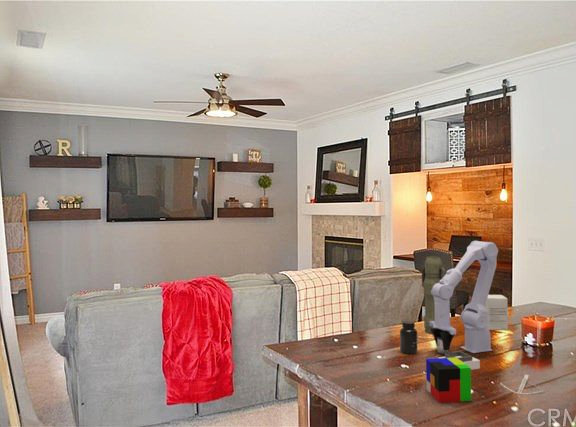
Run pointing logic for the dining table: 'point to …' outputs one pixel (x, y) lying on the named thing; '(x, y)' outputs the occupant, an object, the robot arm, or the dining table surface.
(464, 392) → the puzzle toy
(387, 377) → the dining table surface
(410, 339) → the supplement bottle
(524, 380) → the crossbow
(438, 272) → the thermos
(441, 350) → the lens
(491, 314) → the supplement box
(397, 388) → the dining table surface
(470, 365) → the camera body
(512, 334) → the dining table surface
